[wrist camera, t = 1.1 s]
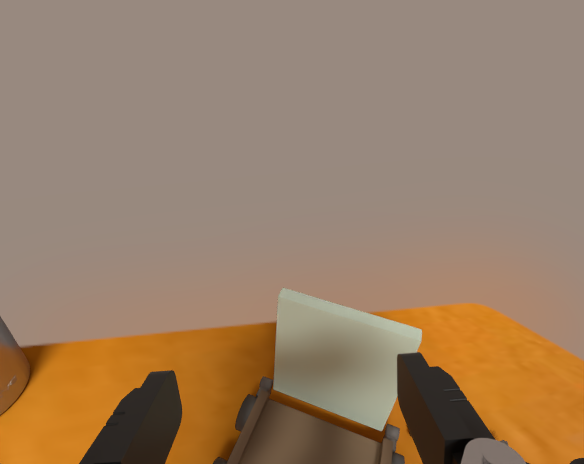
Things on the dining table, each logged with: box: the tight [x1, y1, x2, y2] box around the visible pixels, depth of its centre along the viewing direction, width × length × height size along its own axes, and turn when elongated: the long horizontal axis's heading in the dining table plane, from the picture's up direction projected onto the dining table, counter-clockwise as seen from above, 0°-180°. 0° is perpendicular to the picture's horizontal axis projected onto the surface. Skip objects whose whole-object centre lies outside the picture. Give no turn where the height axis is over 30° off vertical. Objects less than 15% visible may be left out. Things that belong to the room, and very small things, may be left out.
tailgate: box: [273, 288, 422, 431], centre depth 26 cm, size 10×1×12 cm, turn 70°
